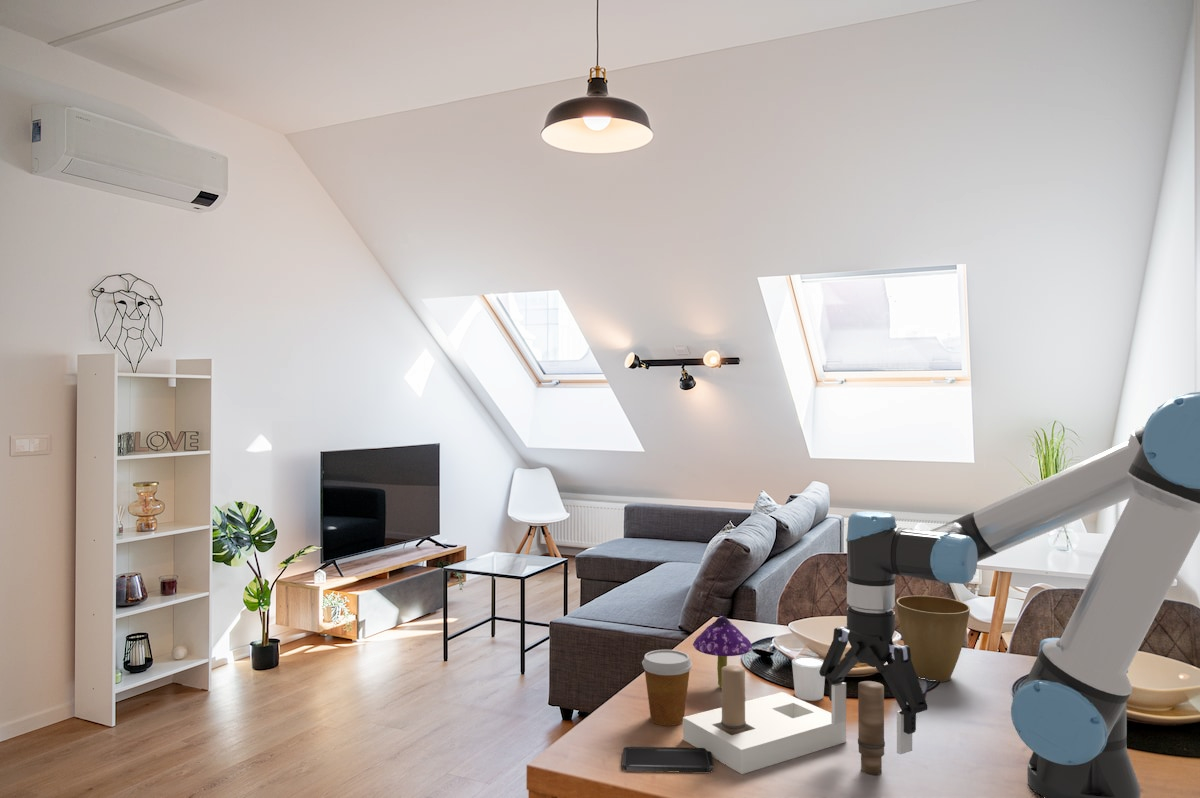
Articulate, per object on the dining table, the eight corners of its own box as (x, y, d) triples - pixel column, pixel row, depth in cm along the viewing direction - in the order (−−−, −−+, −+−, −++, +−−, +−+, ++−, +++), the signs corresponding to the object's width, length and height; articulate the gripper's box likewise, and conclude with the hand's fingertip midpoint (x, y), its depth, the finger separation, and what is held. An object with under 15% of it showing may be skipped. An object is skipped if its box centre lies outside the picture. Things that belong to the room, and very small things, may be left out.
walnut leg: (890, 772, 135) (890, 686, 135) (872, 778, 133) (872, 691, 133) (870, 762, 139) (869, 679, 139) (852, 768, 137) (852, 683, 137)
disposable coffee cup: (634, 723, 156) (633, 660, 156) (654, 706, 164) (654, 646, 164) (681, 733, 151) (680, 667, 151) (699, 715, 160) (699, 653, 160)
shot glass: (827, 702, 166) (827, 667, 166) (792, 700, 167) (792, 665, 167) (825, 690, 173) (825, 657, 173) (791, 688, 174) (791, 655, 174)
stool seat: (846, 741, 147) (845, 663, 147) (741, 774, 135) (741, 688, 135) (782, 712, 161) (782, 640, 161) (682, 739, 149) (682, 661, 148)
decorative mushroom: (750, 678, 180) (750, 609, 180) (755, 699, 168) (754, 625, 168) (692, 676, 182) (692, 608, 182) (693, 697, 169) (692, 623, 169)
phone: (713, 768, 135) (622, 766, 136) (713, 775, 135) (622, 772, 136) (710, 747, 143) (623, 745, 144) (710, 754, 143) (623, 752, 144)
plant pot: (898, 684, 176) (898, 609, 176) (895, 663, 190) (894, 593, 190) (974, 691, 171) (974, 614, 171) (965, 669, 186) (965, 597, 186)
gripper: (952, 622, 127) (951, 760, 127) (829, 588, 148) (829, 706, 149) (919, 629, 123) (919, 771, 123) (799, 593, 145) (798, 715, 145)
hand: (870, 736), depth 136 cm, fingers open, 13 cm apart
